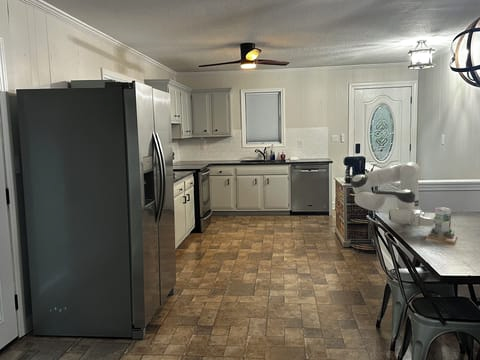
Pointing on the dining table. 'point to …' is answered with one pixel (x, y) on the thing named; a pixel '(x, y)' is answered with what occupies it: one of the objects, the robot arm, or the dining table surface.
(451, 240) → the socket board
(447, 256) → the dining table surface
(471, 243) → the dining table surface
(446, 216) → the syrup box
